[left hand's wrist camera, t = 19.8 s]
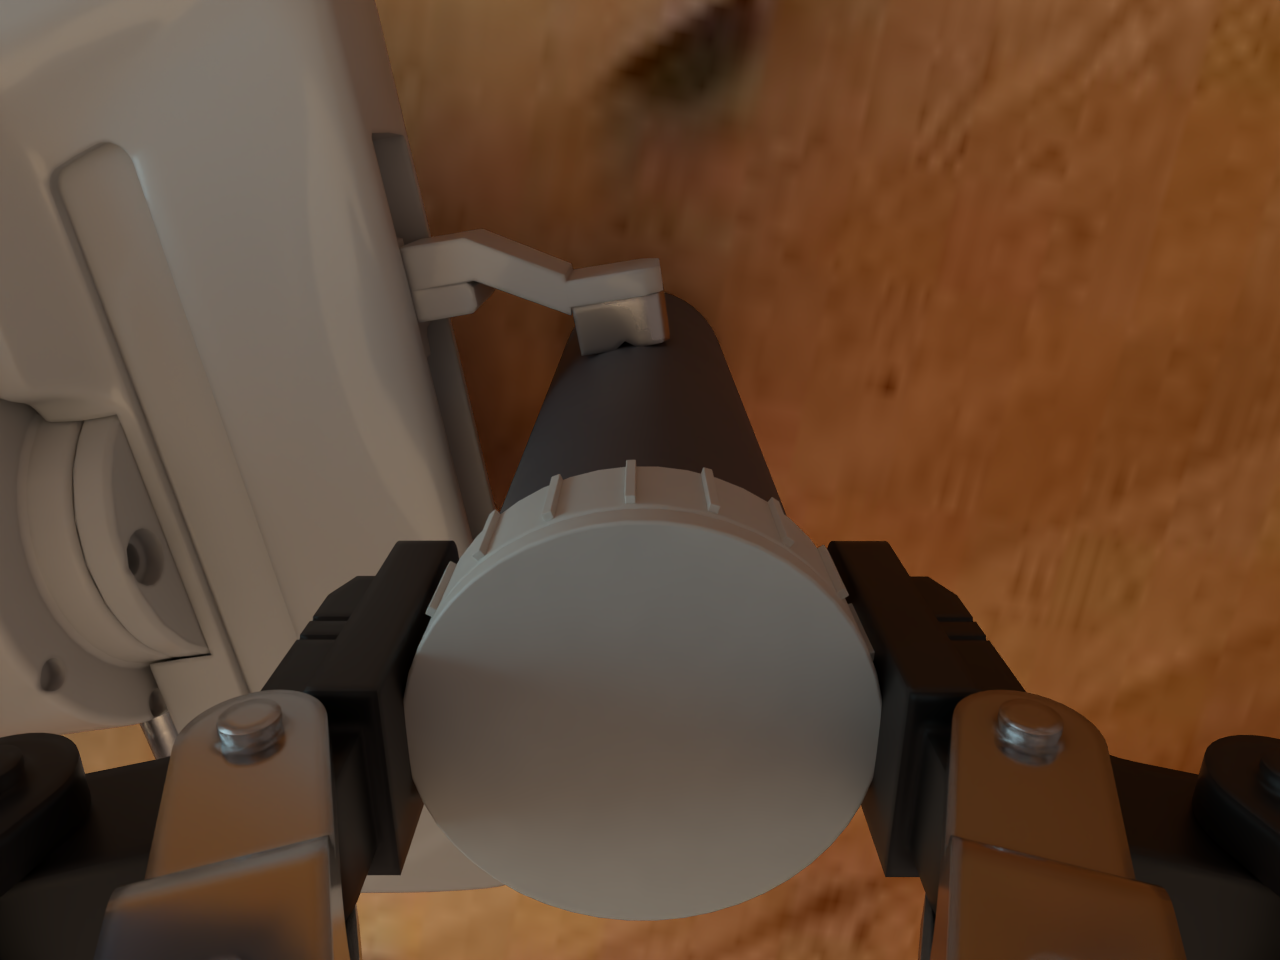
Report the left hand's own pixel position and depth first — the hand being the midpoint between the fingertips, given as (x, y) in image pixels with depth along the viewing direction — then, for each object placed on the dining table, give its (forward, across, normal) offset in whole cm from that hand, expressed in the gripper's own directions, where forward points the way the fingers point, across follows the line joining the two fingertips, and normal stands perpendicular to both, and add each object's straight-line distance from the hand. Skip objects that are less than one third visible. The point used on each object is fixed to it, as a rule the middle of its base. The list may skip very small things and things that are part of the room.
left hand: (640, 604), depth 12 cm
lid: (-3, 0, 0) cm, 3 cm away
